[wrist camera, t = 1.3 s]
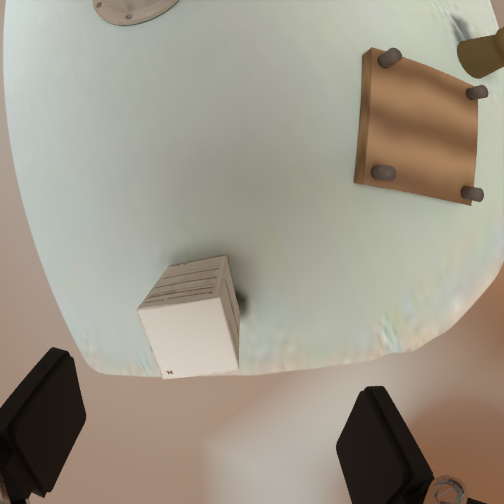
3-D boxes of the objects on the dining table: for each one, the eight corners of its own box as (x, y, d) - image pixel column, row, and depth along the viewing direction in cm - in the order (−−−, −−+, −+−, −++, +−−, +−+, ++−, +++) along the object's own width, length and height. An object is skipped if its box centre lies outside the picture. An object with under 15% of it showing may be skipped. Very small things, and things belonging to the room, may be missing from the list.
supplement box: (241, 310, 38) (241, 373, 26) (182, 319, 38) (160, 382, 26) (228, 252, 36) (222, 296, 24) (166, 263, 36) (133, 310, 24)
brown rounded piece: (489, 81, 30) (539, 71, 20) (462, 75, 30) (513, 59, 20) (480, 45, 29) (527, 29, 18) (452, 37, 29) (499, 15, 18)
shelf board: (362, 55, 30) (382, 38, 24) (464, 91, 31) (491, 84, 25) (353, 182, 34) (374, 186, 28) (457, 202, 35) (485, 209, 29)
